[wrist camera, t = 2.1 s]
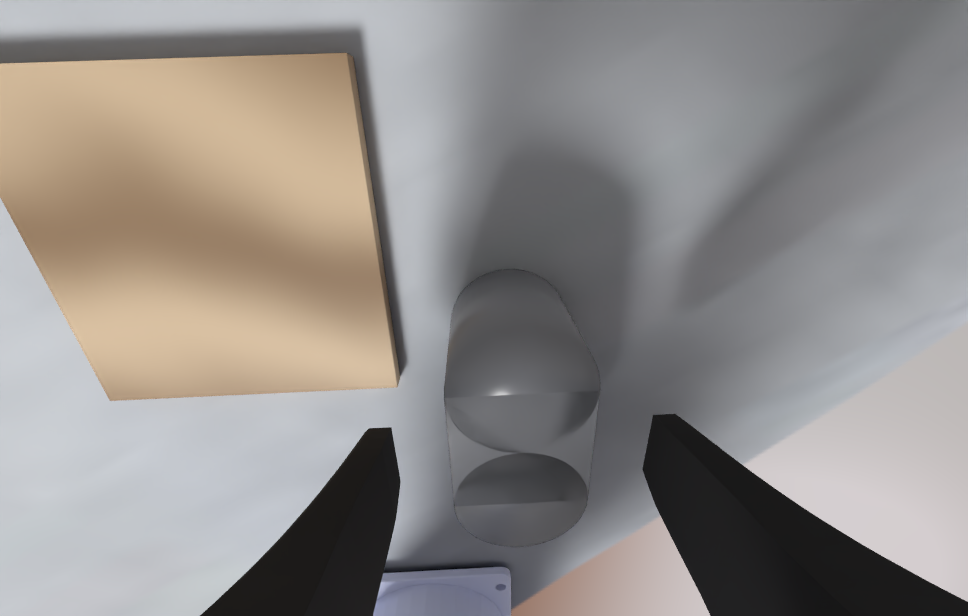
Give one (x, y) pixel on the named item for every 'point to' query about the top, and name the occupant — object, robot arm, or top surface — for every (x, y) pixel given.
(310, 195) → the cork coaster
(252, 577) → the robot arm
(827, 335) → the top surface
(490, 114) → the top surface
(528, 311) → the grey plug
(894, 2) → the top surface
